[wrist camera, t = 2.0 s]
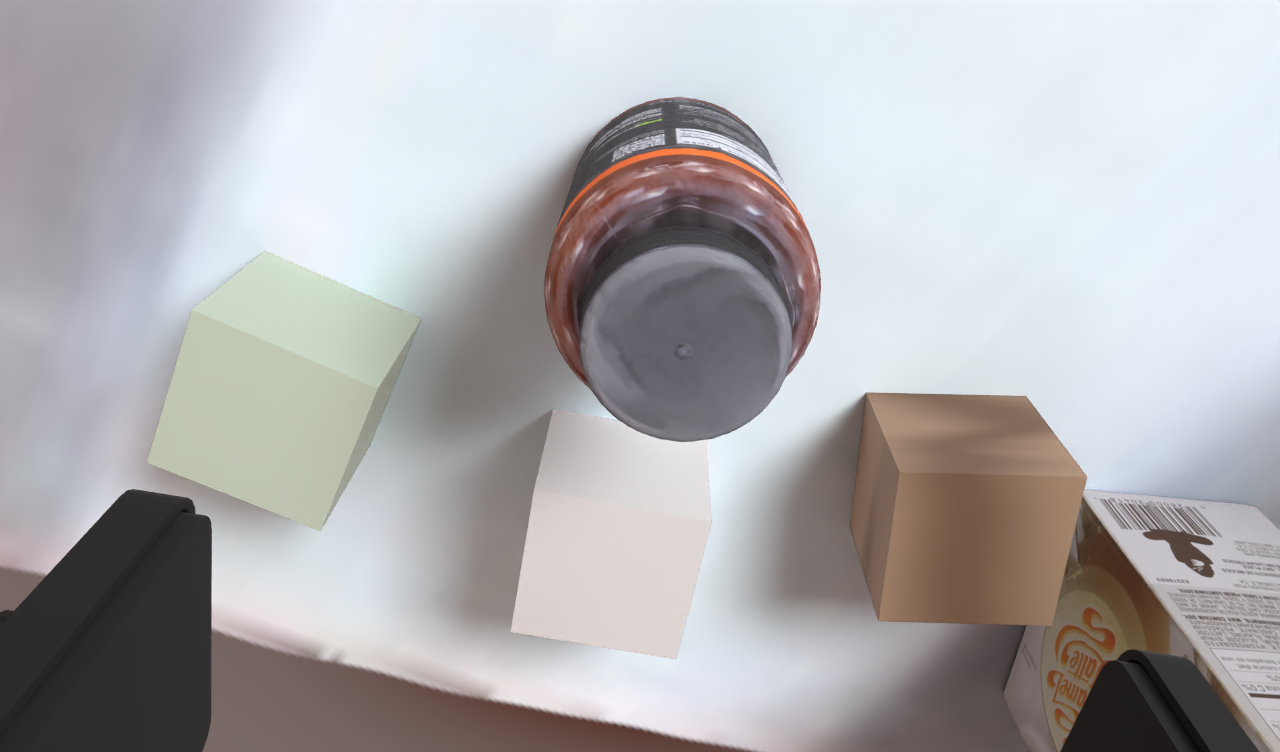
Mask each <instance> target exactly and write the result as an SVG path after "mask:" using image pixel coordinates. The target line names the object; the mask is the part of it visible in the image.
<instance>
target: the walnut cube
mask: <svg viewBox="0 0 1280 752" xmlns="http://www.w3.org/2000/svg"><path fill="white" fill-rule="evenodd" d="M1086 480H1087V476H1086V475H1085V473H1084V472H1083V471H1082V469H1081V468H1080V467H1079V465H1078V464H1077V463H1076V461H1075V460H1074V459H1073V457H1072V456H1071V455H1070V453H1069V452H1068V451H1067V449H1066V448H1065V447H1064V446H1063V444H1062V443H1061V442H1060V440H1059V439H1058V438H1057V436H1056V435H1055V434H1054V432H1053V431H1052V430H1051V428H1050V427H1049V426H1048V424H1047V423H1046V422H1045V420H1044V419H1043V418H1042V416H1041V415H1040V414H1039V412H1038V411H1037V410H1036V408H1035V407H1034V406H1033V405H1032V403H1031V402H1030V401H1029V399H1028V398H1027V397H1026V396H997V395H952V394H906V393H866V398H865V406H864V415H863V423H862V431H861V439H860V448H859V456H858V464H857V472H856V481H855V489H854V497H853V505H852V513H851V522H850V528H851V532H852V535H853V538H854V542H855V545H856V548H857V552H858V555H859V558H860V562H861V565H862V568H863V572H864V575H865V578H866V582H867V585H868V588H869V592H870V595H871V598H872V602H873V605H874V608H875V612H876V615H877V618H878V621H889V622H926V623H964V624H1001V625H1038V626H1052V623H1053V619H1054V615H1055V610H1056V606H1057V602H1058V598H1059V593H1060V589H1061V585H1062V581H1063V577H1064V572H1065V568H1066V564H1067V560H1068V555H1069V551H1070V547H1071V543H1072V539H1073V534H1074V530H1075V526H1076V522H1077V517H1078V513H1079V509H1080V505H1081V501H1082V496H1083V492H1084V488H1085V484H1086Z"/></svg>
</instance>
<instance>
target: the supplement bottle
mask: <svg viewBox="0 0 1280 752" xmlns="http://www.w3.org/2000/svg"><path fill="white" fill-rule="evenodd" d="M820 282H821V278H820V269H819V265H818V260H817V256H816V251H815V248H814V245H813V242H812V239H811V237H810V234H809V232H808V230H807V228H806V225H805V223H804V221H803V218H802V216H801V214H800V213H799V211H798V209H797V207H796V205H795V203H794V201H793V199H792V197H791V195H790V193H789V191H788V189H787V187H786V185H785V183H784V181H783V179H782V177H781V175H780V173H779V171H778V169H777V167H776V165H775V163H774V161H773V159H772V158H771V156H770V154H769V152H768V150H767V148H766V147H765V145H764V144H763V142H762V141H761V139H760V138H759V137H758V136H757V135H756V133H755V132H754V131H753V130H752V129H751V128H750V127H749V126H748V125H747V124H745V123H744V122H743V121H742V120H741V119H739V118H738V117H737V116H735V115H734V114H732V113H731V112H729V111H728V110H726V109H724V108H722V107H719V106H717V105H714V104H712V103H709V102H705V101H701V100H697V99H691V98H684V97H674V98H664V99H657V100H653V101H648V102H646V103H643V104H640V105H637V106H635V107H633V108H630V109H628V110H626V111H625V112H623V113H622V114H620V115H619V116H618V117H616V118H614V119H613V120H611V121H610V122H609V123H608V124H607V125H606V126H605V127H604V128H603V129H602V130H601V131H600V132H598V134H597V135H596V136H595V138H594V139H593V141H592V142H591V143H590V144H589V145H588V147H587V149H586V151H585V153H584V155H583V156H582V158H581V160H580V162H579V165H578V168H577V170H576V173H575V175H574V178H573V182H572V185H571V188H570V191H569V194H568V197H567V200H566V203H565V206H564V209H563V212H562V214H561V217H560V220H559V223H558V226H557V230H556V233H555V236H554V239H553V244H552V247H551V250H550V254H549V258H548V262H547V267H546V273H545V285H544V293H545V307H546V313H547V318H548V323H549V327H550V330H551V332H552V335H553V337H554V340H555V342H556V345H557V347H558V349H559V351H560V353H561V354H562V356H563V358H564V359H565V361H566V363H567V364H568V365H569V367H570V368H571V369H572V370H573V372H574V373H575V374H576V376H577V377H578V378H579V379H580V380H581V381H582V382H583V383H584V384H585V385H586V386H587V387H589V388H590V389H591V390H592V392H593V393H594V395H595V396H596V397H597V399H598V400H599V401H600V403H601V404H602V405H603V406H604V407H605V408H606V409H607V410H608V411H609V412H610V413H611V414H612V415H613V416H614V417H616V418H617V419H618V420H619V421H621V422H623V423H624V424H625V425H627V426H628V427H630V428H633V429H634V430H636V431H638V432H640V433H643V434H646V435H649V436H651V437H655V438H658V439H662V440H670V441H676V442H694V441H700V440H706V439H713V438H716V437H718V436H721V435H724V434H728V433H730V432H732V431H734V430H737V429H738V428H740V427H742V426H743V425H745V424H747V423H748V422H750V421H751V420H752V419H754V418H755V417H756V416H757V415H759V414H760V413H761V412H762V411H763V410H764V409H765V407H766V406H767V405H768V404H769V403H770V402H771V400H772V399H773V398H774V397H775V395H776V394H777V393H778V391H779V389H780V387H781V385H782V383H783V381H784V379H785V377H786V376H787V375H788V374H789V373H790V372H791V371H792V370H793V369H794V367H795V366H796V365H797V364H798V362H799V360H800V358H801V357H802V356H803V355H804V353H805V350H806V348H807V346H808V345H809V343H810V341H811V338H812V336H813V332H814V329H815V327H816V325H817V319H818V314H819V309H820V291H821V284H820Z"/></svg>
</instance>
